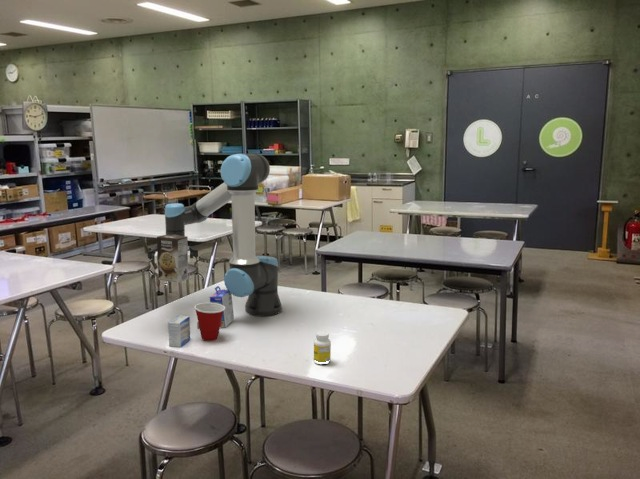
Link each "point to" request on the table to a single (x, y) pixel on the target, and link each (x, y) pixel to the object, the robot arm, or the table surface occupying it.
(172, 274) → the coffee box
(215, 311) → the plastic cup
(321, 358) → the supplement bottle
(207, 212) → the robot arm
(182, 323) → the medicine box
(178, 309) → the table surface
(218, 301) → the ink cartridge box
